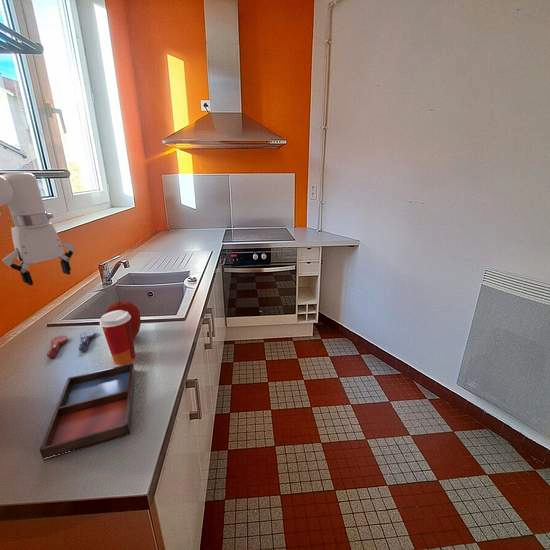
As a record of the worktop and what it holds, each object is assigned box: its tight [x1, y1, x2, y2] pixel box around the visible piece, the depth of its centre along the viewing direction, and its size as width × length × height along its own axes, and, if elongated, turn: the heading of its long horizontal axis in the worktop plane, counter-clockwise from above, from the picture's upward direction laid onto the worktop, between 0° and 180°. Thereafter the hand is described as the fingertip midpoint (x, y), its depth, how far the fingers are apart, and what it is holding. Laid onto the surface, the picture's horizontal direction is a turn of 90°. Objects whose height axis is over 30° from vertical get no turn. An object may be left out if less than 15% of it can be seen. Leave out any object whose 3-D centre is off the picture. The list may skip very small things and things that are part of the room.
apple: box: [104, 298, 142, 339], centre depth 94 cm, size 10×10×14 cm
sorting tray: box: [39, 362, 136, 459], centre depth 68 cm, size 15×22×3 cm
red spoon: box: [46, 334, 69, 359], centre depth 92 cm, size 12×4×2 cm, turn 21°
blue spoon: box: [78, 329, 97, 353], centre depth 95 cm, size 12×4×2 cm, turn 21°
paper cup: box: [99, 310, 136, 366], centre depth 84 cm, size 8×8×14 cm
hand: (49, 278), depth 88 cm, fingers open, 9 cm apart
